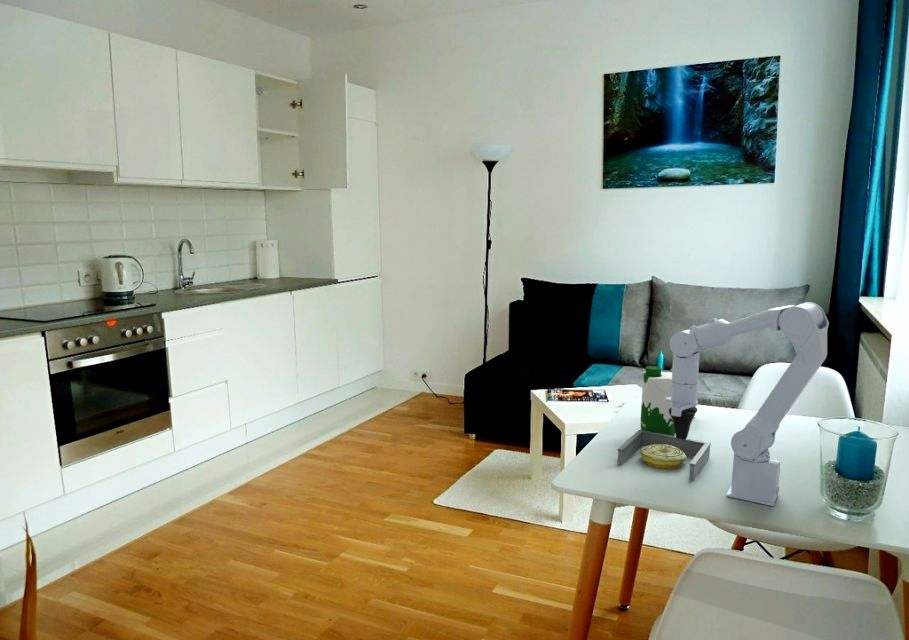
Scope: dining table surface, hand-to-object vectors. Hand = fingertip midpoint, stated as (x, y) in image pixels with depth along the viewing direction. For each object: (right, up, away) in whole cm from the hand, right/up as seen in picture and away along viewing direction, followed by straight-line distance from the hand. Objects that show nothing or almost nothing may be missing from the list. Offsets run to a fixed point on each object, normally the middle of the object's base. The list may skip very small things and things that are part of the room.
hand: (681, 438), depth 159 cm
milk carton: (+2, -5, +26) cm, 26 cm away
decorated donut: (-1, -8, +9) cm, 12 cm away
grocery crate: (-1, -8, +9) cm, 12 cm away
